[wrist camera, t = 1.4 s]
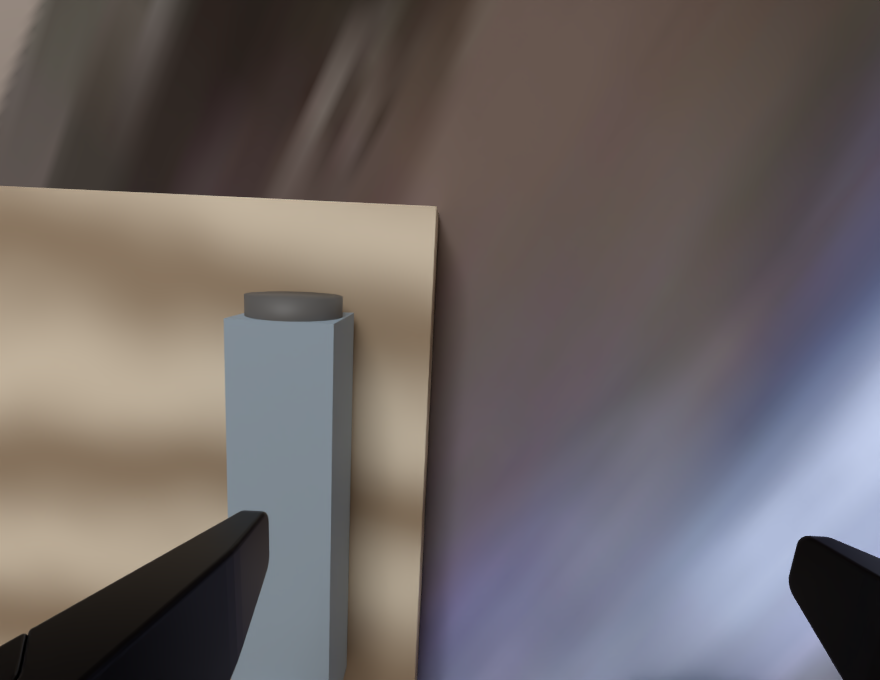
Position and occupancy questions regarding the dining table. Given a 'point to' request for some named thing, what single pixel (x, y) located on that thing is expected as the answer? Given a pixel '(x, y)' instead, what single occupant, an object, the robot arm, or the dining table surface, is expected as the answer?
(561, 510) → the dining table surface
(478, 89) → the dining table surface
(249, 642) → the hinged leg
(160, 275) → the stool seat
